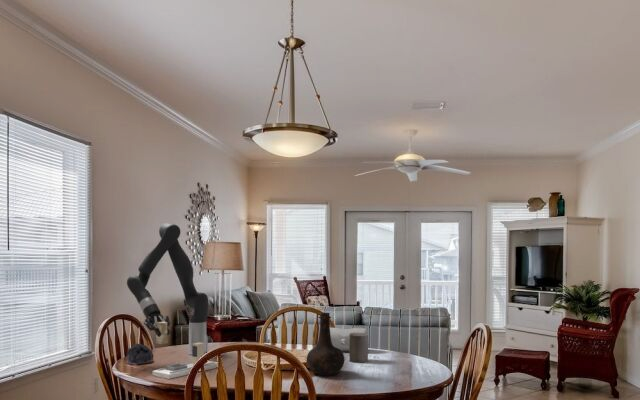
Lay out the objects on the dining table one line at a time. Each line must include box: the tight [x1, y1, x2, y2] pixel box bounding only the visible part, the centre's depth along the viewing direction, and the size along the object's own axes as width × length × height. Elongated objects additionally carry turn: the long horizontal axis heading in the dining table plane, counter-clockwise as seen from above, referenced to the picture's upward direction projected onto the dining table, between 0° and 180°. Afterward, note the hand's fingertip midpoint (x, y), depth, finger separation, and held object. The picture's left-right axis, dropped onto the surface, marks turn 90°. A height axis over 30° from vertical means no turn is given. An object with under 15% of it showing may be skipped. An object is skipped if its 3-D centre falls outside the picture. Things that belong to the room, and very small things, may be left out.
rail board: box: [152, 342, 218, 380], centre depth 275 cm, size 30×12×12 cm, turn 142°
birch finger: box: [155, 322, 169, 345], centre depth 281 cm, size 4×4×10 cm
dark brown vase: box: [306, 312, 345, 376], centre depth 270 cm, size 18×18×28 cm
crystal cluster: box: [126, 343, 154, 366], centre depth 295 cm, size 13×14×10 cm
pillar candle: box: [348, 331, 369, 364], centre depth 296 cm, size 10×10×15 cm
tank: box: [330, 327, 369, 353], centre depth 320 cm, size 25×16×12 cm, turn 81°
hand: (164, 334), depth 280 cm, fingers closed on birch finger, 4 cm apart
